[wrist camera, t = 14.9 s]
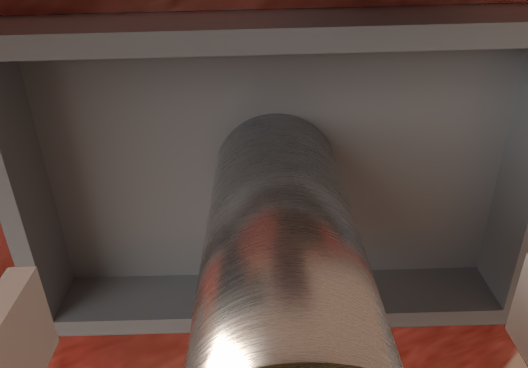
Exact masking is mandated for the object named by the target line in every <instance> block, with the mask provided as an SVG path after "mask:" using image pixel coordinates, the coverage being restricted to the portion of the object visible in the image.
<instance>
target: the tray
mask: <svg viewBox="0 0 528 368" xmlns="http://www.w3.org/2000/svg"><path fill="white" fill-rule="evenodd" d="M273 113H280V114H289V115H293V116H297V117H300V118H302V119H304V120H307V121H308V122H310V123H312V124H313V125H314V126H316V127H317V128H318V129H319V130H320V131H321V132H322V133H323V134H324V135H325V137H326V138H327V139H328V141H329V143H330V145H331V147H332V150H333V153H334V156H335V159H336V162H337V165H338V168H339V171H340V174H341V177H342V180H343V183H344V186H345V189H346V193H347V196H348V199H349V202H350V205H351V208H352V211H353V214H354V217H355V220H356V223H357V226H358V229H359V232H360V236H361V239H362V242H363V245H364V248H365V251H366V254H367V257H368V260H369V263H370V266H371V269H372V272H373V276H374V279H375V282H376V285H377V288H378V291H379V294H380V297H381V300H382V303H383V306H384V309H385V312H386V315H387V319H388V322H389V325H390V327H425V326H462V325H499V324H506V322H507V319H508V315H509V312H510V308H511V305H512V301H513V298H514V295H515V291H516V288H517V284H518V281H519V277H520V274H521V270H522V267H523V264H524V260H525V257H526V253H528V3H493V4H454V5H414V6H375V7H335V8H296V9H256V10H217V11H177V12H137V13H98V14H58V15H19V16H0V223H1V226H2V229H3V232H4V235H5V238H6V241H7V244H8V247H9V250H10V253H11V256H12V259H13V262H14V266H15V267H37V270H38V273H39V277H40V280H41V283H42V286H43V290H44V293H45V296H46V299H47V303H48V306H49V309H50V312H51V316H52V319H53V322H54V325H55V329H56V332H57V335H58V336H90V335H127V334H164V333H190V328H191V321H192V315H193V309H194V302H195V296H196V289H197V283H198V277H199V270H200V264H201V258H202V251H203V245H204V238H205V232H206V226H207V219H208V213H209V207H210V200H211V194H212V187H213V181H214V175H215V168H216V162H217V156H218V153H219V150H220V148H221V146H222V144H223V142H224V140H225V139H226V137H227V136H228V135H229V134H230V133H231V132H232V131H233V130H234V129H235V128H236V127H237V126H239V125H240V124H242V123H243V122H245V121H247V120H249V119H251V118H254V117H257V116H260V115H265V114H273Z"/></svg>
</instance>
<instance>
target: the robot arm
mask: <svg viewBox="0 0 528 368" xmlns="http://www.w3.org/2000/svg"><path fill="white" fill-rule="evenodd" d="M505 330H506V331H507V333H508V335H509V336H510V338H511V340H512V341H513V343H514V345H515V346H516V348H517V350H518V351H519V353H520V355H521V356H522V358H523V359H524V361H525V363H526V365H527V366H528V253H526V257H525V260H524V264H523V267H522V270H521V274H520V277H519V281H518V284H517V288H516V291H515V295H514V298H513V301H512V305H511V308H510V312H509V315H508V319H507V322H506V326H505ZM58 343H59V339H58V335H57V332H56V329H55V325H54V322H53V319H52V316H51V312H50V309H49V306H48V303H47V299H46V296H45V293H44V290H43V286H42V283H41V280H40V277H39V273H38V270H37V267H8V268H7V269H6V270H5V272H4V273H3V275H2V276H1V278H0V368H47V367H48V365H49V363H50V360H51V358H52V356H53V354H54V352H55V349H56V347H57V345H58Z"/></svg>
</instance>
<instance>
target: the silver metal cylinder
mask: <svg viewBox="0 0 528 368" xmlns="http://www.w3.org/2000/svg"><path fill="white" fill-rule="evenodd" d="M184 368H403V365H402V362H401V359H400V355H399V352H398V349H397V346H396V343H395V340H394V337H393V334H392V331H391V328H390V325H389V322H388V319H387V315H386V312H385V309H384V306H383V303H382V300H381V297H380V294H379V291H378V288H377V285H376V282H375V279H374V276H373V272H372V269H371V266H370V263H369V260H368V257H367V254H366V251H365V248H364V245H363V242H362V239H361V236H360V232H359V229H358V226H357V223H356V220H355V217H354V214H353V211H352V208H351V205H350V202H349V199H348V196H347V193H346V189H345V186H344V183H343V180H342V177H341V174H340V171H339V168H338V165H337V162H336V159H335V156H334V153H333V150H332V147H331V145H330V143H329V141H328V139H327V138H326V137H325V135H324V134H323V133H322V132H321V131H320V130H319V129H318V128H317V127H316V126H314V125H313V124H312V123H310V122H308V121H307V120H304V119H302V118H300V117H297V116H293V115H289V114H280V113H273V114H265V115H260V116H257V117H254V118H251V119H249V120H247V121H245V122H243V123H242V124H240V125H239V126H237V127H236V128H235V129H234V130H233V131H232V132H231V133H230V134H229V135H228V136H227V137H226V139H225V140H224V142H223V144H222V146H221V148H220V150H219V153H218V156H217V162H216V168H215V175H214V181H213V187H212V194H211V200H210V207H209V213H208V219H207V226H206V232H205V238H204V245H203V251H202V258H201V264H200V270H199V277H198V283H197V289H196V296H195V302H194V309H193V315H192V321H191V328H190V334H189V341H188V347H187V353H186V360H185V366H184Z"/></svg>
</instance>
